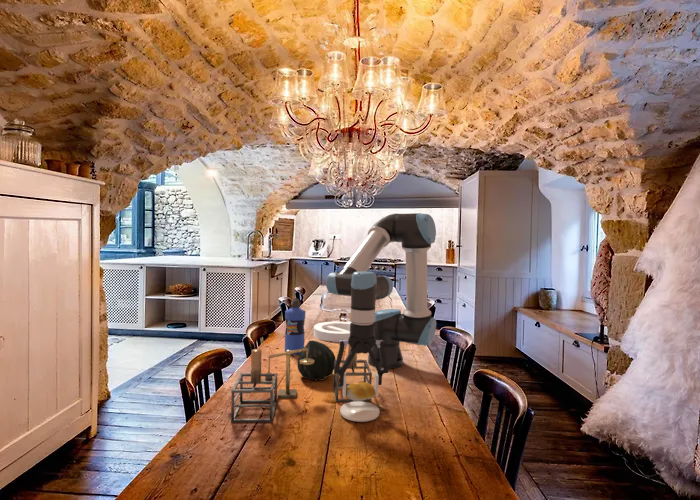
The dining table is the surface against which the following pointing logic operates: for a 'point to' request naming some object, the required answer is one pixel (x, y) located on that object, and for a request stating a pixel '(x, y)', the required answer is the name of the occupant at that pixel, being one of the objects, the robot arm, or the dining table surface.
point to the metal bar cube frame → (352, 366)
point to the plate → (359, 411)
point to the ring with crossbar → (332, 331)
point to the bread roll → (360, 391)
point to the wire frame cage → (254, 389)
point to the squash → (317, 361)
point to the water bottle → (294, 327)
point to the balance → (288, 372)
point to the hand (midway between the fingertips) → (360, 395)
